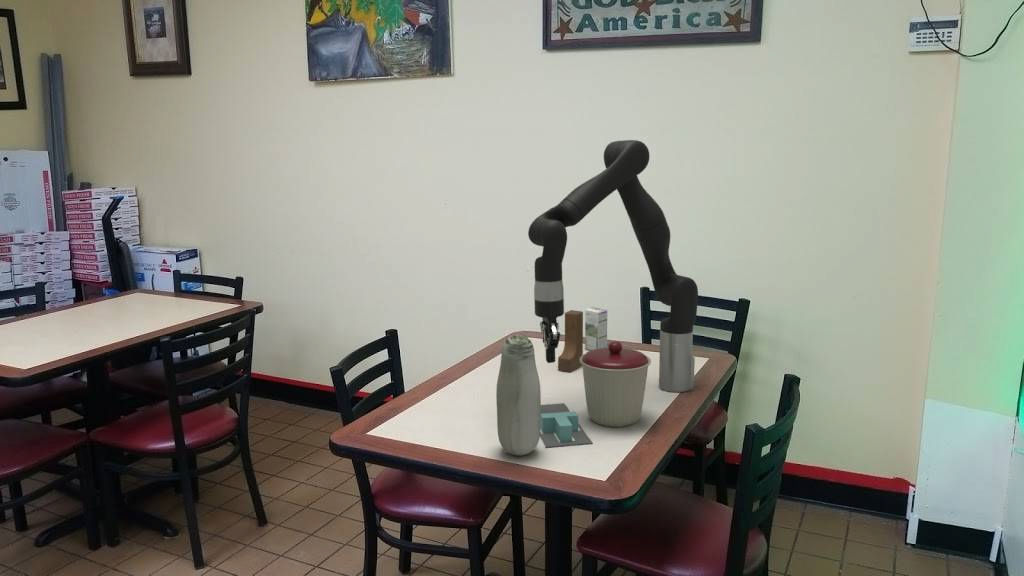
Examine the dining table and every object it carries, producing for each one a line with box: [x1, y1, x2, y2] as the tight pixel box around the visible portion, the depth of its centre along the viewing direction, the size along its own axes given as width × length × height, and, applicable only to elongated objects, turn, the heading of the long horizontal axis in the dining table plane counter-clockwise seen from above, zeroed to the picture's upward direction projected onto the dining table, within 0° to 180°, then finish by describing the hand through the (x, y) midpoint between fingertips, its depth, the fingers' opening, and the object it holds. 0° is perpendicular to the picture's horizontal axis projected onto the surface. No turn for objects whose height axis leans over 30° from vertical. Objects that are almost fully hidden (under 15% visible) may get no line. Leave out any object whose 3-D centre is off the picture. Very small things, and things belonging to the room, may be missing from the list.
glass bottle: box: [495, 334, 542, 457], centre depth 172 cm, size 10×10×28 cm
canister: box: [579, 340, 652, 428], centre depth 192 cm, size 18×18×21 cm
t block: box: [540, 411, 579, 442], centre depth 183 cm, size 9×9×4 cm
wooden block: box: [557, 309, 584, 373], centre depth 237 cm, size 9×4×18 cm, turn 148°
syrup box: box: [584, 306, 608, 351], centre depth 258 cm, size 6×6×14 cm
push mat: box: [539, 403, 593, 449], centre depth 191 cm, size 12×28×1 cm, turn 10°
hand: (550, 361), depth 194 cm, fingers closed
